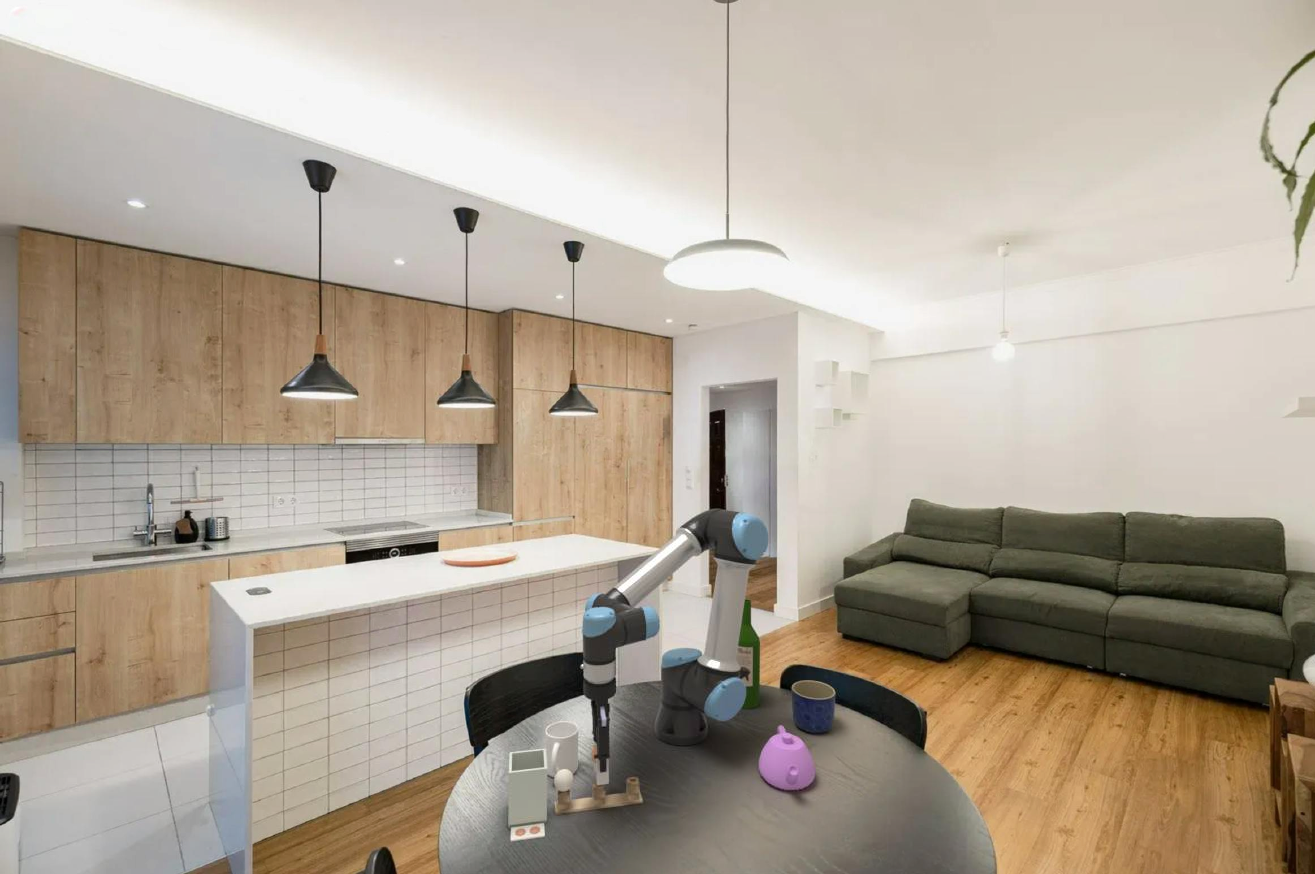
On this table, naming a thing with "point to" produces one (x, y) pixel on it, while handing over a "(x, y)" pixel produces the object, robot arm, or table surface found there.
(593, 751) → the ball
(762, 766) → the teapot
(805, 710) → the planter
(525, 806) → the grey-green tall hollow box
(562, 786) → the ball
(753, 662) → the wine bottle
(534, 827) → the card
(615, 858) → the table surface
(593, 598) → the robot arm
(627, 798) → the rack
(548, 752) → the mug
